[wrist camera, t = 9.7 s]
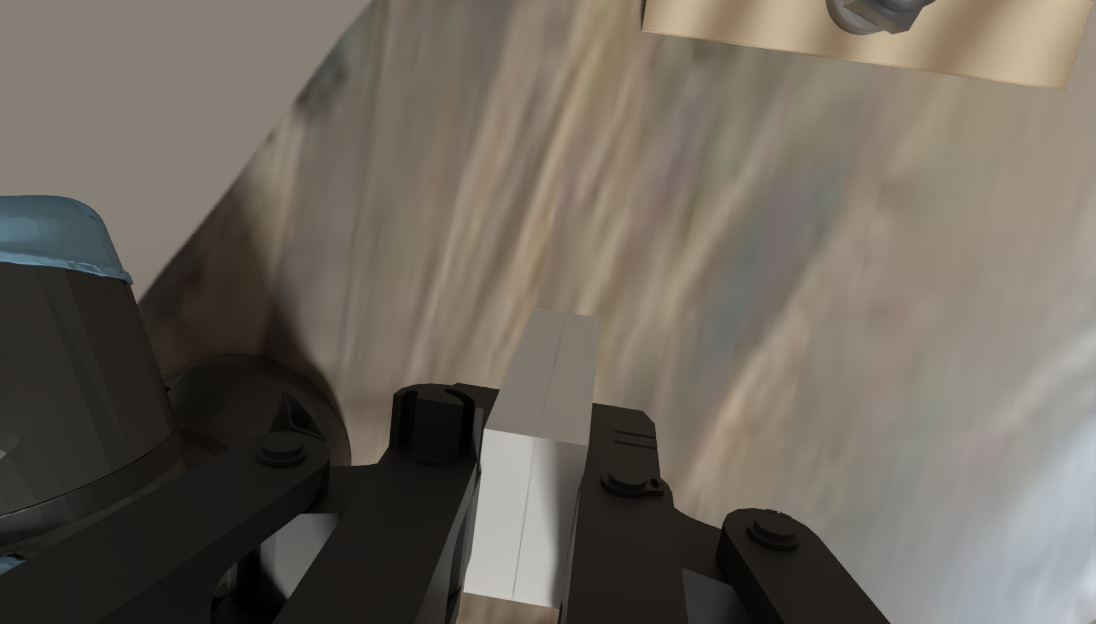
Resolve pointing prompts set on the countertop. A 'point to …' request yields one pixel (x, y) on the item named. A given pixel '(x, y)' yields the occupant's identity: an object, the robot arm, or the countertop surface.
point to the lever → (888, 12)
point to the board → (930, 44)
